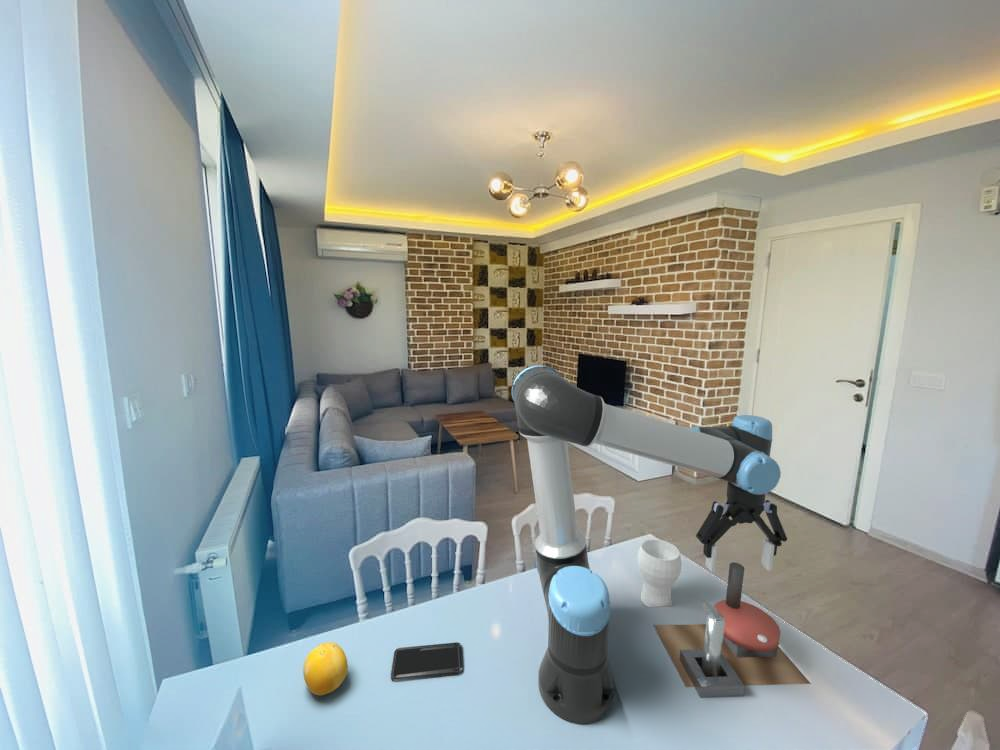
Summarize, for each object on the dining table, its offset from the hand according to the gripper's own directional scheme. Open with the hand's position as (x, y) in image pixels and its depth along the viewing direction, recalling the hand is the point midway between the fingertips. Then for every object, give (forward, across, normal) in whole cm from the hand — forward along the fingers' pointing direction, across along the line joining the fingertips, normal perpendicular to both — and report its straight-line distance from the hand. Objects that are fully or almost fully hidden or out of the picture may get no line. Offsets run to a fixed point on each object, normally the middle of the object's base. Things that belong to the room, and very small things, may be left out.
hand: (738, 568), depth 95 cm
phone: (+16, -73, -7) cm, 75 cm away
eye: (+15, -13, -14) cm, 24 cm away
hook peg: (+15, -14, -14) cm, 24 cm away
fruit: (+15, -92, -12) cm, 95 cm away
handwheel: (+11, 0, -5) cm, 13 cm away
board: (+16, -6, -8) cm, 19 cm away
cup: (+16, -14, +10) cm, 24 cm away
